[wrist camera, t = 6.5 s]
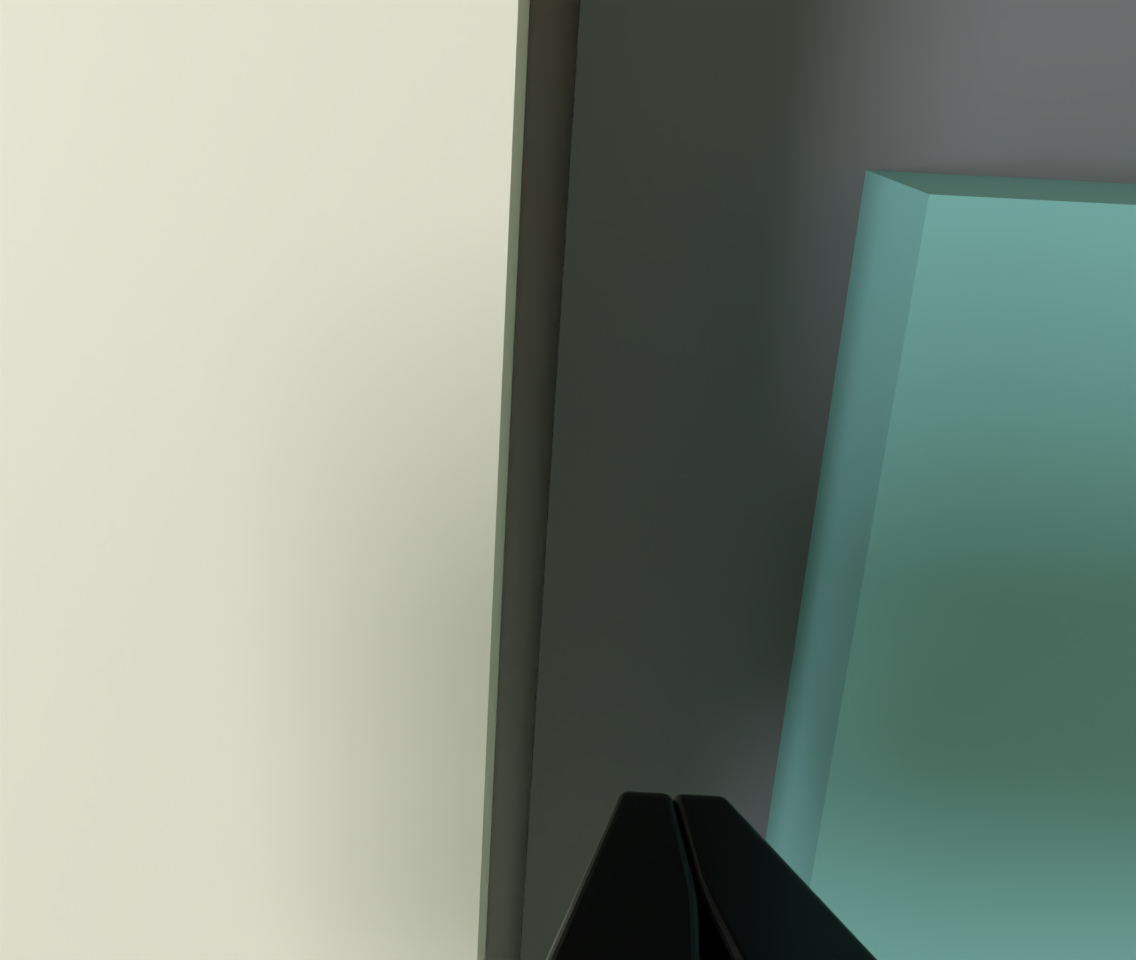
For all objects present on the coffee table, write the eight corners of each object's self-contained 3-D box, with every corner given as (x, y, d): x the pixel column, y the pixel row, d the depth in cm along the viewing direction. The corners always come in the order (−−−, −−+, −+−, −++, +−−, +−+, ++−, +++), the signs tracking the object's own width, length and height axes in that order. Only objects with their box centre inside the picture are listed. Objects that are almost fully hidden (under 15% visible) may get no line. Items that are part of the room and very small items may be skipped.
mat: (1152, 1103, 17) (1162, 1121, 16) (512, 1082, 16) (511, 1100, 16) (1665, -262, 10) (1698, -270, 10) (602, -350, 10) (603, -363, 9)
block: (793, 980, 13) (762, 860, 14) (1291, 993, 13) (1197, 873, 15) (930, 194, 9) (866, 169, 11) (1601, 229, 9) (1429, 199, 11)
